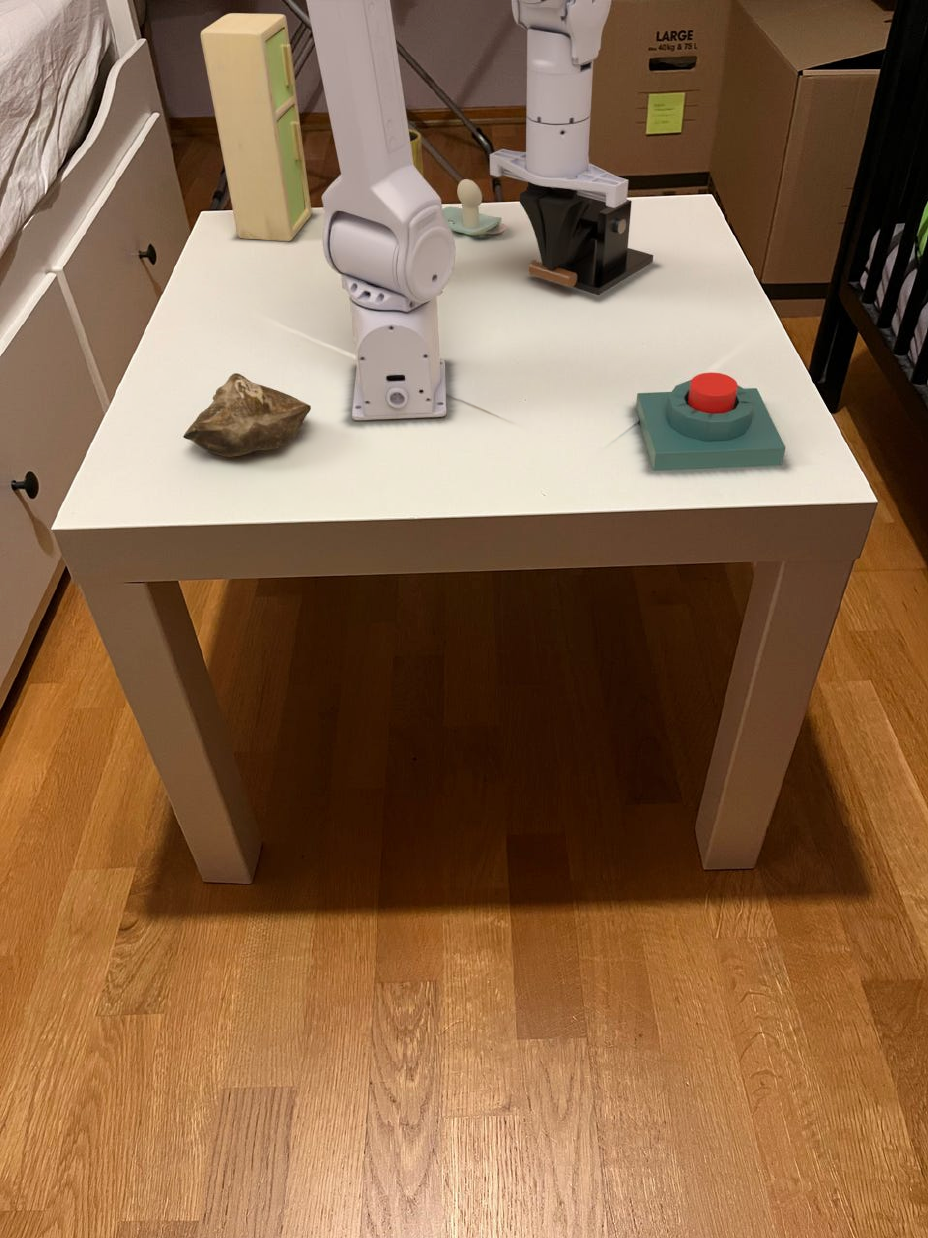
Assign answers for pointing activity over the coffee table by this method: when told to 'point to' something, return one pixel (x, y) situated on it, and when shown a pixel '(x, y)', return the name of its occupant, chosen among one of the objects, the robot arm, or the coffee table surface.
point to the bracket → (608, 252)
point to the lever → (572, 248)
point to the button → (712, 393)
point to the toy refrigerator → (258, 123)
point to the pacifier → (471, 213)
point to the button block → (707, 432)
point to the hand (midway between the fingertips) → (553, 263)
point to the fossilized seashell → (247, 419)
